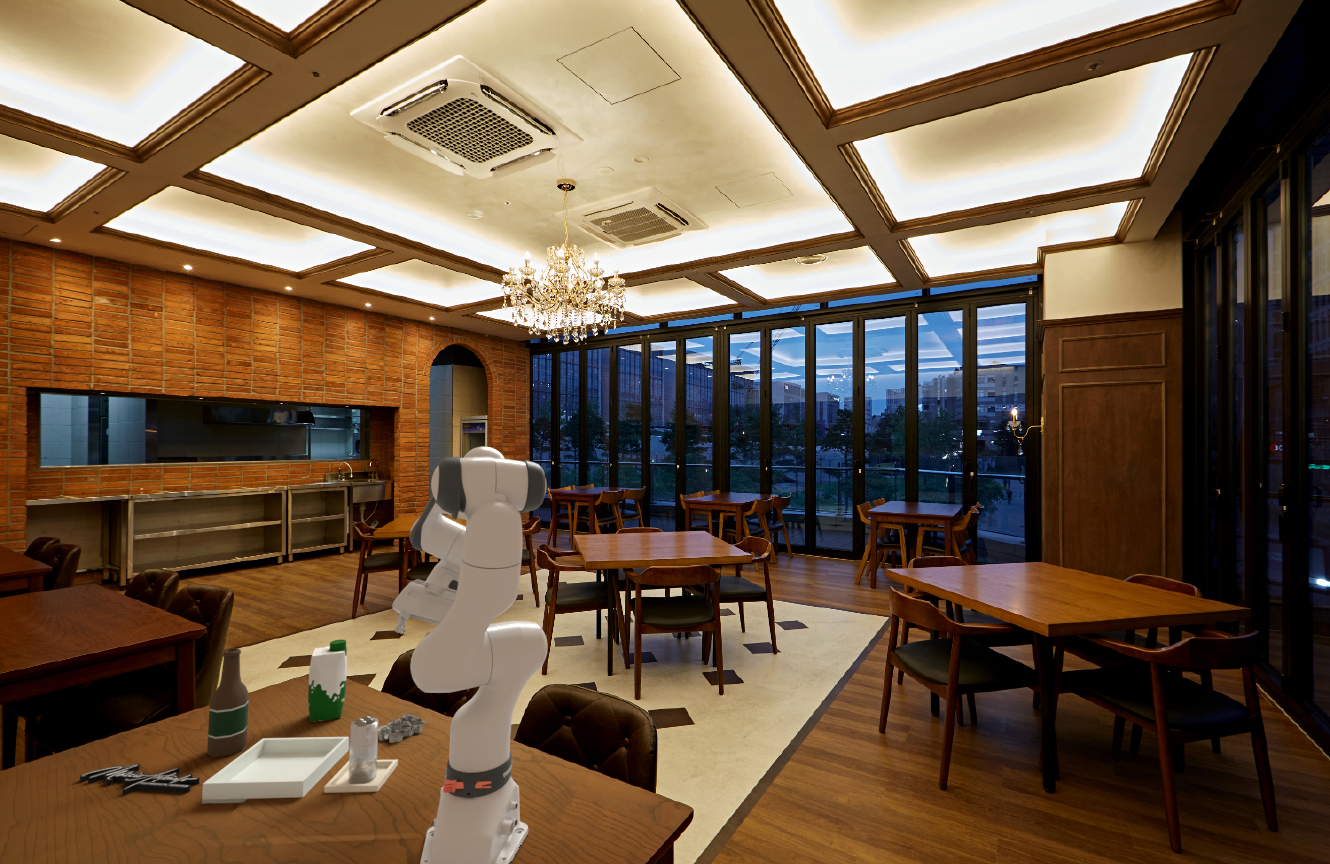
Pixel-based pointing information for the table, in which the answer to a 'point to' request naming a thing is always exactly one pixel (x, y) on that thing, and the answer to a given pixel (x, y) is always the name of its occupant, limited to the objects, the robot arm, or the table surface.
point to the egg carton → (400, 728)
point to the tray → (342, 784)
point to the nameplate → (142, 779)
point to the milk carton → (327, 681)
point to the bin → (275, 769)
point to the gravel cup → (363, 750)
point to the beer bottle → (228, 710)
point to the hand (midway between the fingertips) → (412, 636)
